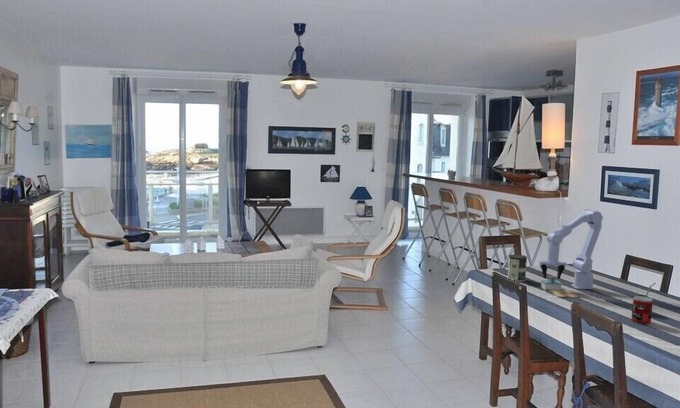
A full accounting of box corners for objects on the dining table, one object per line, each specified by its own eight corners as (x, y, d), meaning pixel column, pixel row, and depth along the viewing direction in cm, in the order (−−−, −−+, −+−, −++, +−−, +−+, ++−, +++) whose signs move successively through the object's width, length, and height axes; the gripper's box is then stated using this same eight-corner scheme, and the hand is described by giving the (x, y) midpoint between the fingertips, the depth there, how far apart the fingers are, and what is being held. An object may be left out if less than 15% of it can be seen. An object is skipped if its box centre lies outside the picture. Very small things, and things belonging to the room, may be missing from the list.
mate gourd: (630, 311, 276) (632, 281, 274) (637, 308, 281) (640, 279, 279) (645, 315, 270) (648, 284, 268) (653, 312, 275) (656, 282, 273)
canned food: (627, 318, 264) (629, 296, 263) (644, 318, 265) (646, 296, 263) (637, 324, 256) (639, 300, 255) (654, 324, 257) (656, 300, 256)
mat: (571, 291, 309) (571, 290, 309) (580, 297, 297) (580, 296, 297) (549, 291, 310) (549, 290, 309) (557, 297, 298) (557, 296, 298)
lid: (557, 281, 318) (558, 275, 318) (562, 284, 312) (562, 278, 311) (540, 281, 318) (541, 274, 318) (544, 284, 312) (545, 277, 311)
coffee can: (524, 278, 338) (526, 254, 336) (526, 282, 327) (528, 258, 326) (506, 276, 340) (508, 253, 338) (508, 281, 330) (509, 257, 328)
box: (557, 287, 318) (557, 281, 318) (561, 289, 312) (561, 284, 312) (541, 286, 318) (541, 281, 318) (544, 289, 313) (545, 284, 312)
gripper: (542, 255, 309) (540, 279, 311) (569, 256, 309) (567, 280, 311) (538, 252, 316) (536, 276, 318) (564, 253, 316) (562, 277, 318)
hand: (551, 278), depth 315 cm, fingers open, 7 cm apart
